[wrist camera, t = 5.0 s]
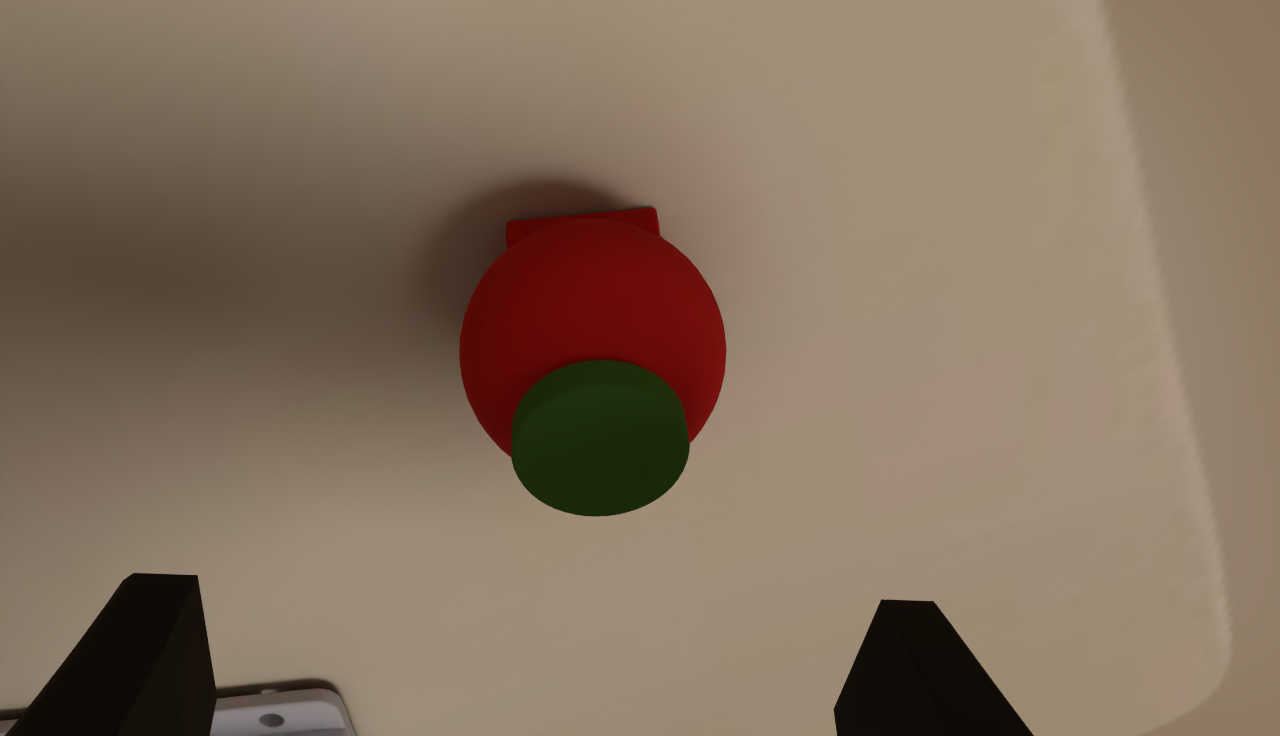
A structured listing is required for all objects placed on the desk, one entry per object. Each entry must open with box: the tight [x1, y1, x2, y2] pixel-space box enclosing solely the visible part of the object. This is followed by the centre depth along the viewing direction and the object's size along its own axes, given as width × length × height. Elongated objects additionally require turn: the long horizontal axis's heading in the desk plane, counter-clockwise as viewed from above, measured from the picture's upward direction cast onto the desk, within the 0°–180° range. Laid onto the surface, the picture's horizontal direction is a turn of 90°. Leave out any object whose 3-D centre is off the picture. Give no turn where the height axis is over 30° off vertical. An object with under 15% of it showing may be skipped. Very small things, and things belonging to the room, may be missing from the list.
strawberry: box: [459, 208, 726, 516], centre depth 16 cm, size 4×4×4 cm
